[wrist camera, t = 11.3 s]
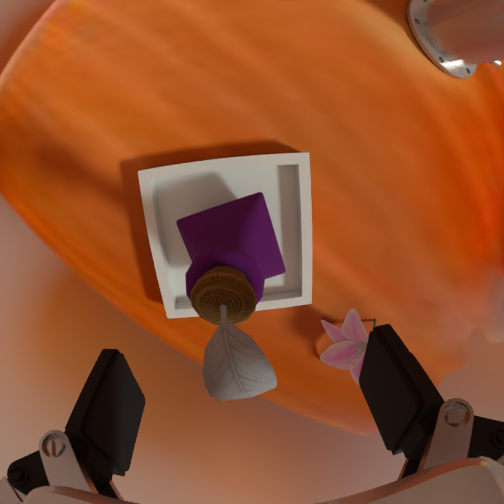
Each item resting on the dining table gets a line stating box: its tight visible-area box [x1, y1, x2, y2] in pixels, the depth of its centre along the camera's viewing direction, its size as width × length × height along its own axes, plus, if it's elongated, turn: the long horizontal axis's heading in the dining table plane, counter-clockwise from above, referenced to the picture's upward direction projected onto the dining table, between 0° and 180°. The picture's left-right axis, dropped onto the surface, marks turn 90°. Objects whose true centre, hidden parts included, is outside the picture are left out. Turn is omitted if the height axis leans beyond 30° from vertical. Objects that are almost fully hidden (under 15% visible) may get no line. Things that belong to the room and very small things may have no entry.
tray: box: [138, 152, 312, 318], centre depth 26 cm, size 15×15×2 cm
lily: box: [320, 308, 376, 386], centre depth 29 cm, size 12×12×10 cm
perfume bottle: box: [176, 192, 286, 401], centre depth 18 cm, size 8×8×18 cm
